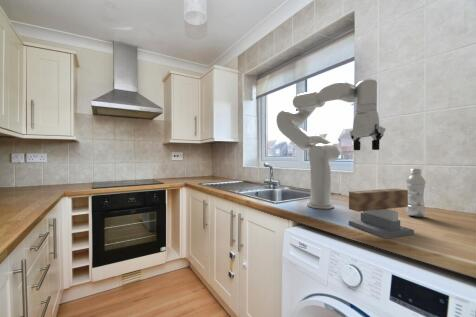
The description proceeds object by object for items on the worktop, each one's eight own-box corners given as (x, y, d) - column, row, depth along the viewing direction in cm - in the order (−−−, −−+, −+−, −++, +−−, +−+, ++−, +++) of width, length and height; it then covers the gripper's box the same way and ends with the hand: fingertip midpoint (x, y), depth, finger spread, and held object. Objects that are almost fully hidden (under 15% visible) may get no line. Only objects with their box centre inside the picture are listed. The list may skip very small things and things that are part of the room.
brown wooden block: (358, 211, 73) (358, 193, 73) (348, 208, 77) (348, 191, 77) (407, 206, 80) (407, 189, 80) (396, 204, 84) (396, 188, 84)
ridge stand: (348, 224, 84) (348, 204, 84) (373, 221, 88) (373, 202, 88) (385, 238, 70) (385, 214, 70) (413, 234, 73) (413, 211, 73)
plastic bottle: (425, 216, 95) (426, 168, 95) (425, 219, 90) (425, 169, 90) (406, 213, 99) (407, 168, 99) (405, 216, 94) (405, 169, 94)
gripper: (344, 113, 103) (343, 150, 104) (377, 105, 87) (376, 149, 87) (357, 113, 106) (357, 150, 106) (392, 106, 89) (391, 149, 89)
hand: (365, 150), depth 97 cm, fingers open, 9 cm apart
